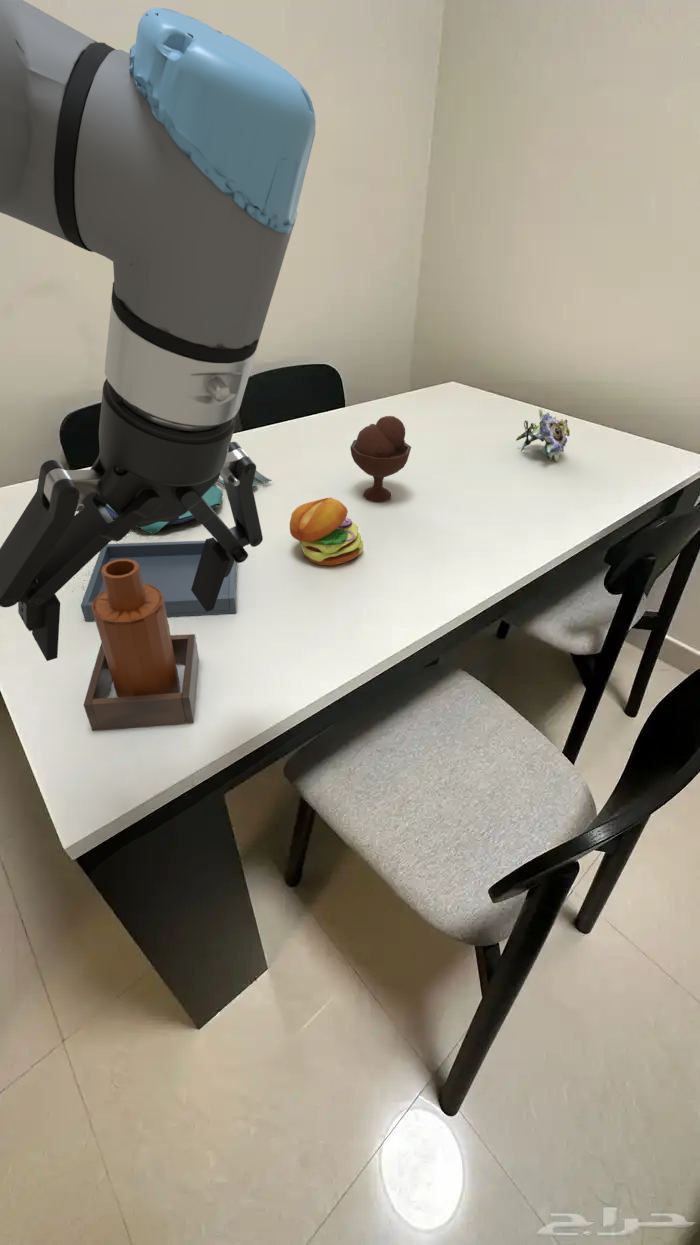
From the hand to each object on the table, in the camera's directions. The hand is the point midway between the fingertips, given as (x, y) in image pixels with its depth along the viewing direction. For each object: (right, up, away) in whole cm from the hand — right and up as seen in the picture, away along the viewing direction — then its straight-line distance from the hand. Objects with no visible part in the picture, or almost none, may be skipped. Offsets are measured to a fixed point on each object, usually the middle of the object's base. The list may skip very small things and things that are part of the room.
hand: (130, 621), depth 48 cm
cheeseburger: (+15, +11, +45) cm, 48 cm away
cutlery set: (-11, +23, +58) cm, 63 cm away
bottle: (-5, -8, +19) cm, 21 cm away
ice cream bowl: (+23, +24, +62) cm, 70 cm away
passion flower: (+60, +37, +82) cm, 108 cm away
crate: (-5, -8, +19) cm, 21 cm away
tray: (-8, +5, +36) cm, 37 cm away
